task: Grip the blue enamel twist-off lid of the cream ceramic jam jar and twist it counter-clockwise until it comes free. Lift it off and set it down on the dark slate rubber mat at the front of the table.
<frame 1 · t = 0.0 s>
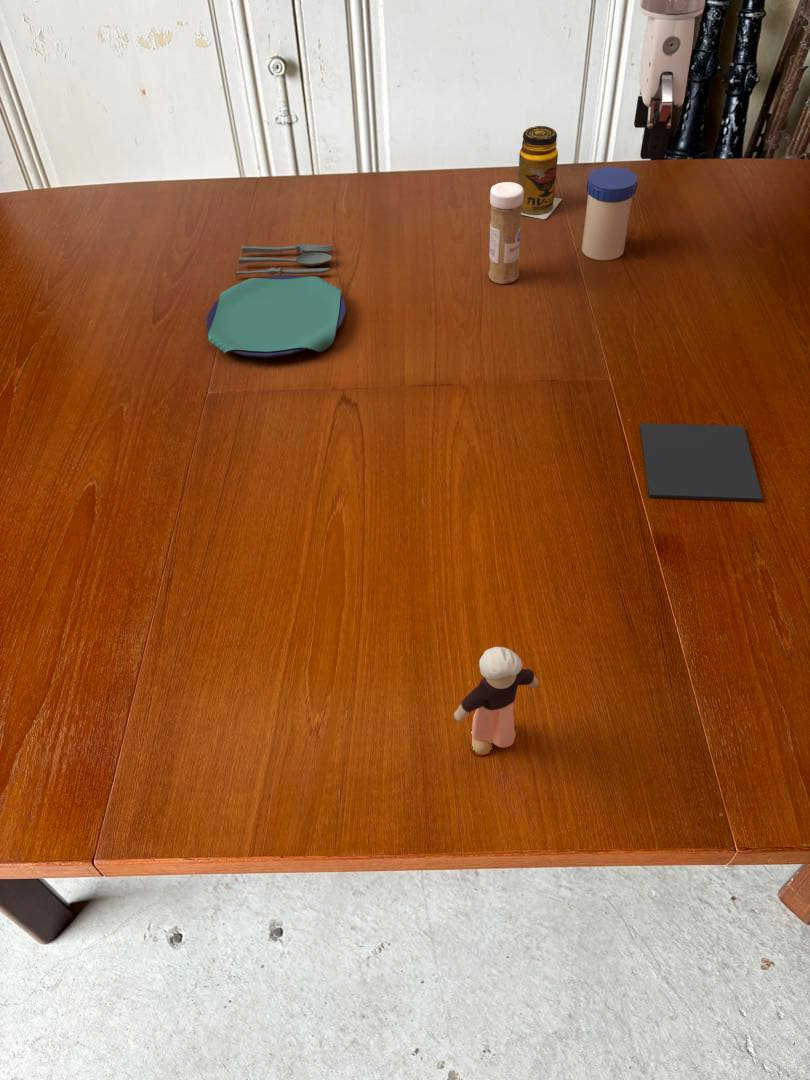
hand: (648, 142, 110), 17 cm above the table, tool pointing down, fingers open, 9 cm apart
jar: (602, 249, 125), on the table
spice bottle: (503, 278, 121), on the table
condiment: (530, 206, 135), on the table
cutlery set: (283, 305, 119), on the table
mat: (697, 462, 93), on the table
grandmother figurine: (496, 734, 72), on the table
lid: (612, 180, 117), point 11 cm above the table, screwed on, not yet turned
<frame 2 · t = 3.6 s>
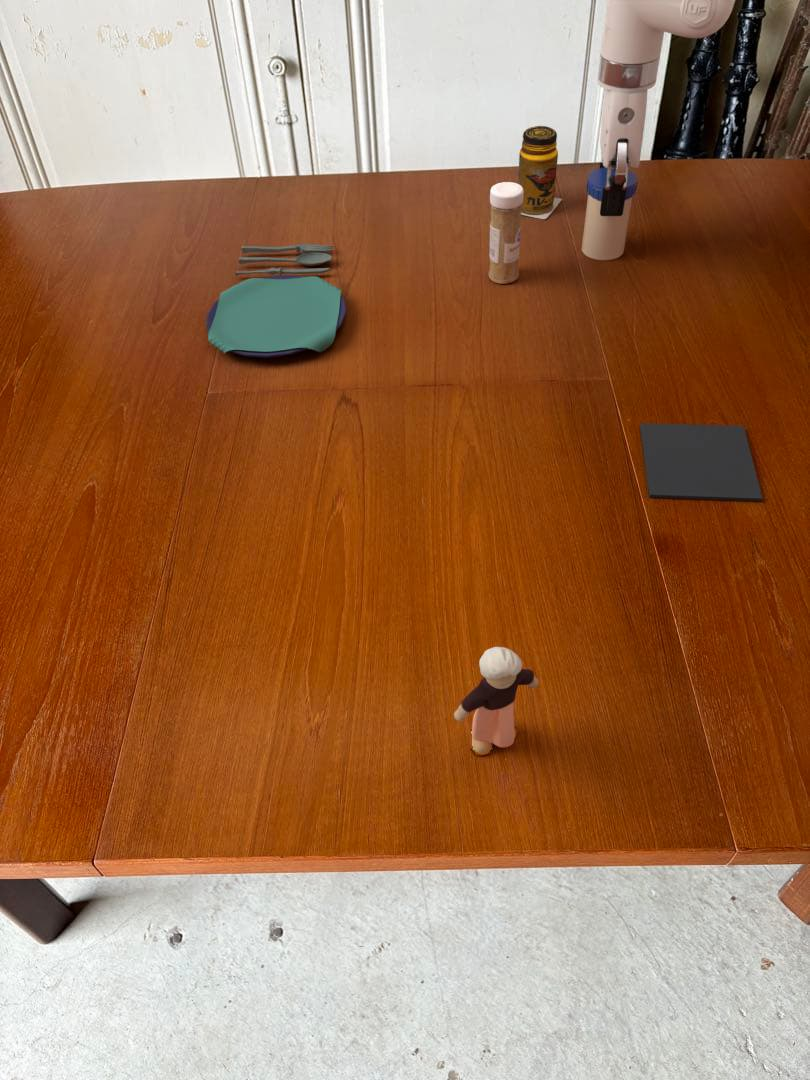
hand: (609, 201, 119), 8 cm above the table, tool pointing down, fingers closed on lid, 6 cm apart
lid: (612, 180, 117), point 11 cm above the table, screwed on, not yet turned, touching gripper
everything else where it was.
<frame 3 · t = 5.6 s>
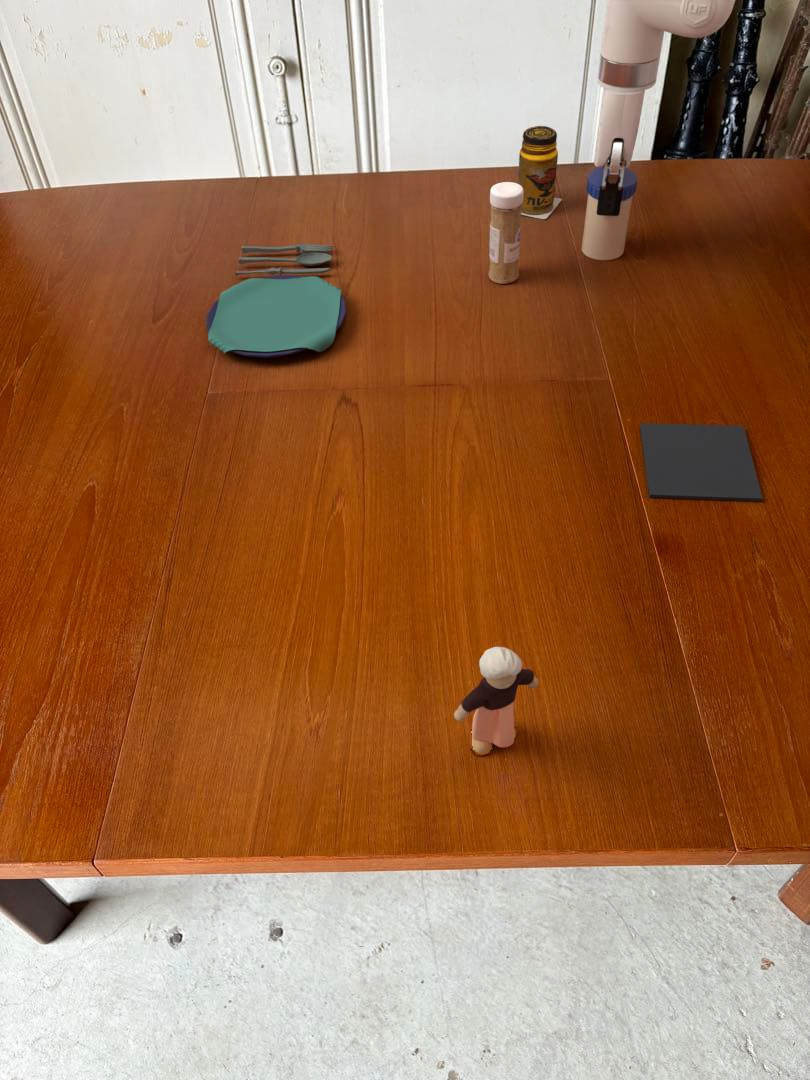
hand: (609, 201, 119), 8 cm above the table, tool pointing down, fingers closed on lid, 6 cm apart
lid: (612, 180, 117), point 11 cm above the table, off its thread, touching gripper
everything else where it was.
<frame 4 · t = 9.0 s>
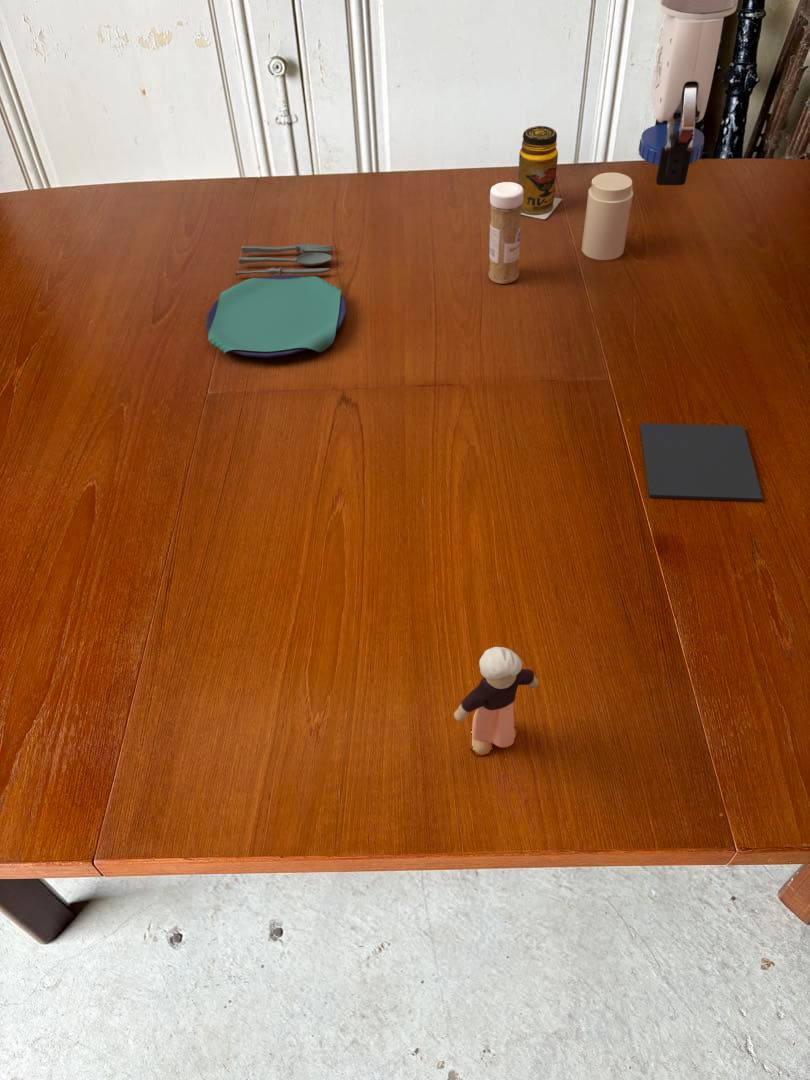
hand: (667, 167, 95), 22 cm above the table, tool pointing down, fingers closed on lid, 6 cm apart
lid: (672, 139, 93), point 25 cm above the table, off its thread, touching gripper
everything else where it was.
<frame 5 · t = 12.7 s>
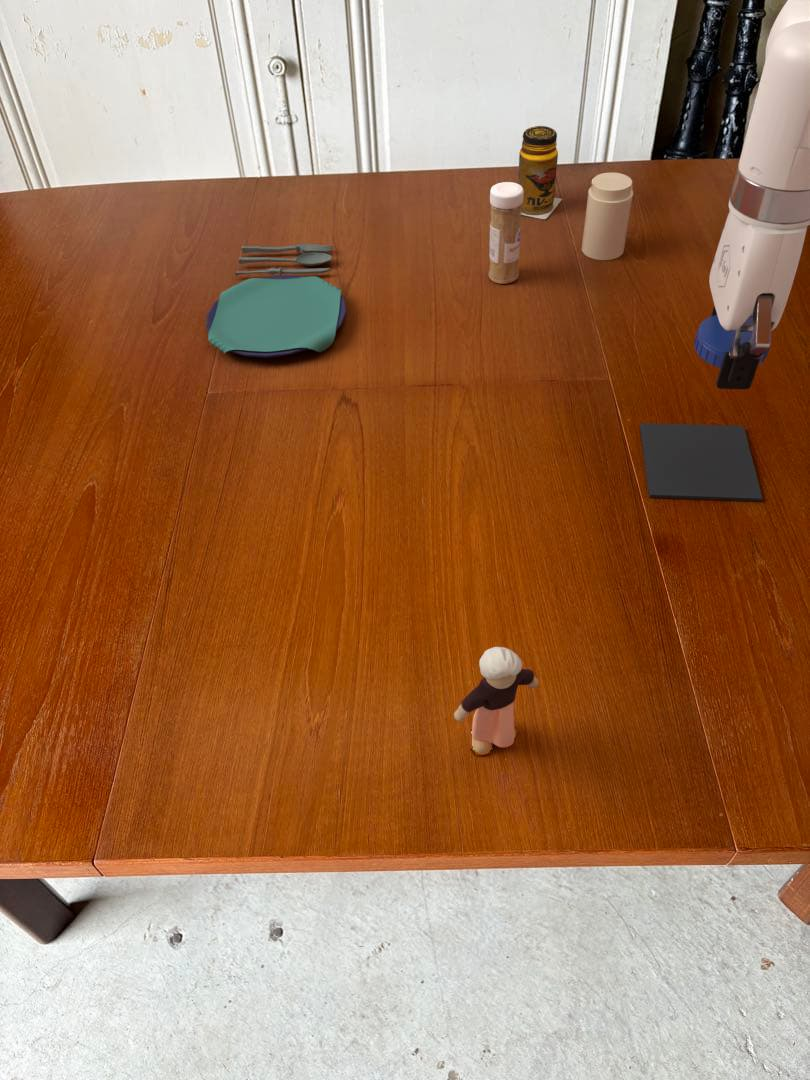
hand: (726, 362, 83), 14 cm above the table, tool pointing down, fingers closed on lid, 6 cm apart
lid: (733, 336, 80), point 17 cm above the table, off its thread, touching gripper
everything else where it was.
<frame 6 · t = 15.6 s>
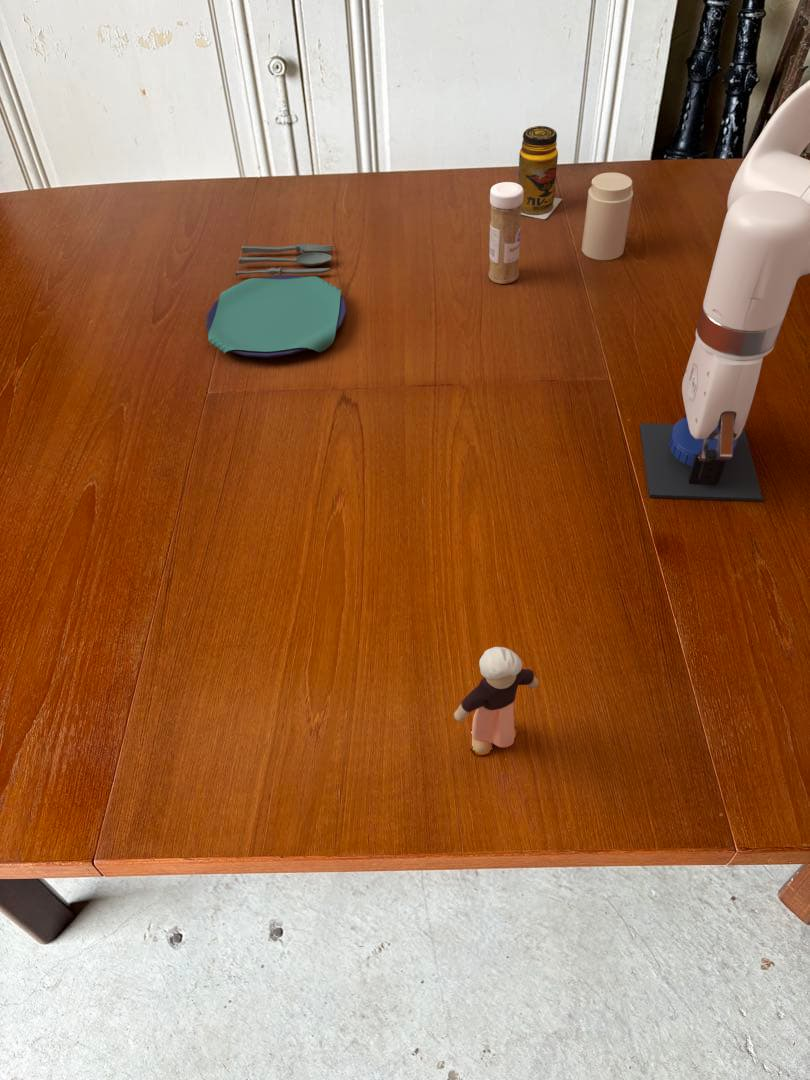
hand: (698, 458, 93), 1 cm above the table, tool pointing down, fingers closed on lid, 6 cm apart
lid: (703, 437, 90), point 4 cm above the table, off its thread, touching gripper
everything else where it was.
when the fingers open (1 cm above the table, at t = 21.7 s): lid drops 2 cm, resting on mat.
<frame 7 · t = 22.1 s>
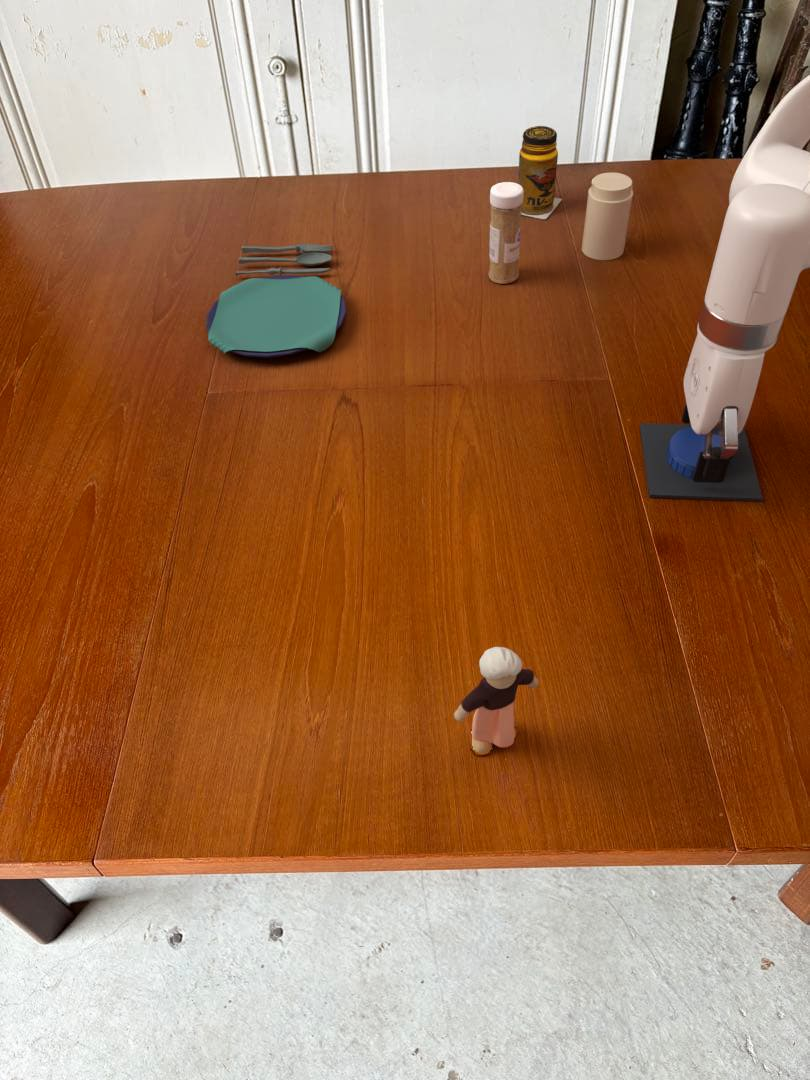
hand: (701, 450, 92), 2 cm above the table, tool pointing down, fingers open, 9 cm apart
lid: (700, 449, 92), point 2 cm above the table, off its thread, touching mat
everything else where it was.
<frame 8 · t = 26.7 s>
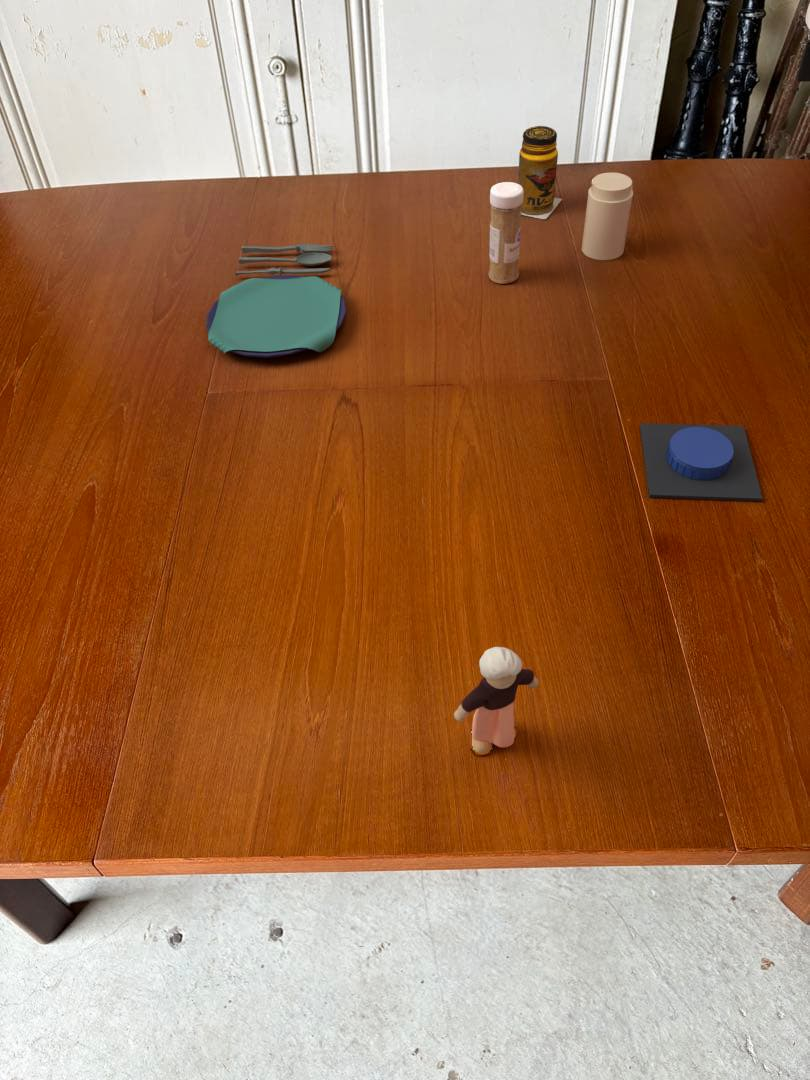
nothing on the table moved.
at the end: lid came off its thread; lid inside the target area on the mat (0.1 cm from its centre), point 2.0 cm above the mat's base; the gripper is holding nothing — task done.
